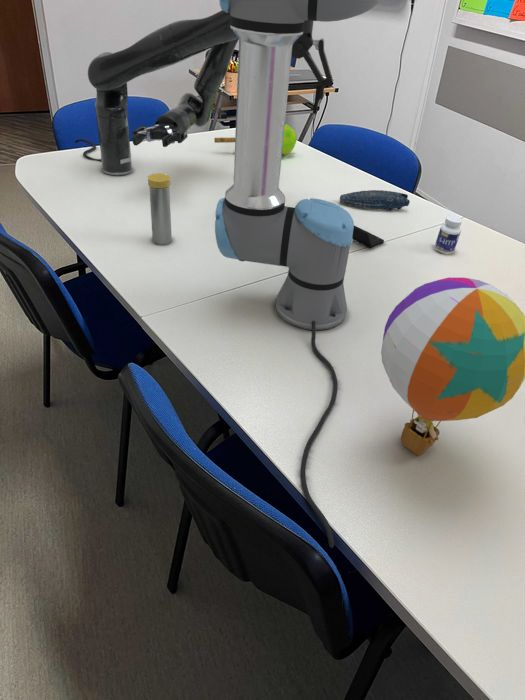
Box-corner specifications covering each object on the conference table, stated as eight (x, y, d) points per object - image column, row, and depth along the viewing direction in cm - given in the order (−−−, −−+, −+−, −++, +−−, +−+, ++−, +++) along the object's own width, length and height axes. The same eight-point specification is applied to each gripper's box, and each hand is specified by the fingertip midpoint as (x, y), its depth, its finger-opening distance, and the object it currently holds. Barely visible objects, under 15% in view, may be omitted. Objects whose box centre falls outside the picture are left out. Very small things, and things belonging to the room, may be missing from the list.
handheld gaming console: (388, 234, 141) (380, 212, 133) (377, 256, 140) (367, 236, 131) (351, 226, 147) (341, 204, 139) (340, 247, 146) (329, 227, 138)
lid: (150, 179, 126) (150, 172, 125) (172, 181, 126) (172, 174, 125) (145, 187, 121) (145, 180, 120) (167, 189, 121) (167, 182, 120)
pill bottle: (433, 251, 139) (442, 220, 133) (435, 243, 143) (444, 213, 137) (453, 256, 138) (464, 225, 132) (454, 247, 142) (465, 217, 136)
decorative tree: (211, 117, 187) (292, 117, 193) (212, 147, 194) (290, 146, 199) (217, 132, 174) (304, 131, 179) (217, 163, 180) (301, 162, 186)
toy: (330, 436, 84) (367, 277, 66) (403, 387, 95) (453, 238, 76) (431, 520, 73) (510, 357, 55) (500, 454, 84) (586, 299, 65)
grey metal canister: (155, 235, 135) (151, 174, 125) (173, 237, 135) (171, 176, 125) (150, 243, 131) (146, 181, 121) (169, 245, 131) (166, 184, 121)
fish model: (408, 214, 157) (412, 198, 153) (339, 207, 158) (341, 191, 154) (406, 206, 162) (410, 190, 159) (339, 199, 163) (341, 183, 160)
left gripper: (148, 110, 148) (121, 126, 136) (194, 111, 145) (171, 128, 133) (153, 137, 153) (127, 155, 141) (198, 139, 150) (175, 158, 138)
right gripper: (351, 16, 123) (337, 111, 137) (248, 5, 125) (244, 100, 139) (351, 20, 118) (336, 118, 131) (243, 8, 119) (238, 107, 133)
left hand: (148, 142), depth 137 cm, fingers open, 8 cm apart
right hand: (288, 109), depth 135 cm, fingers open, 13 cm apart
